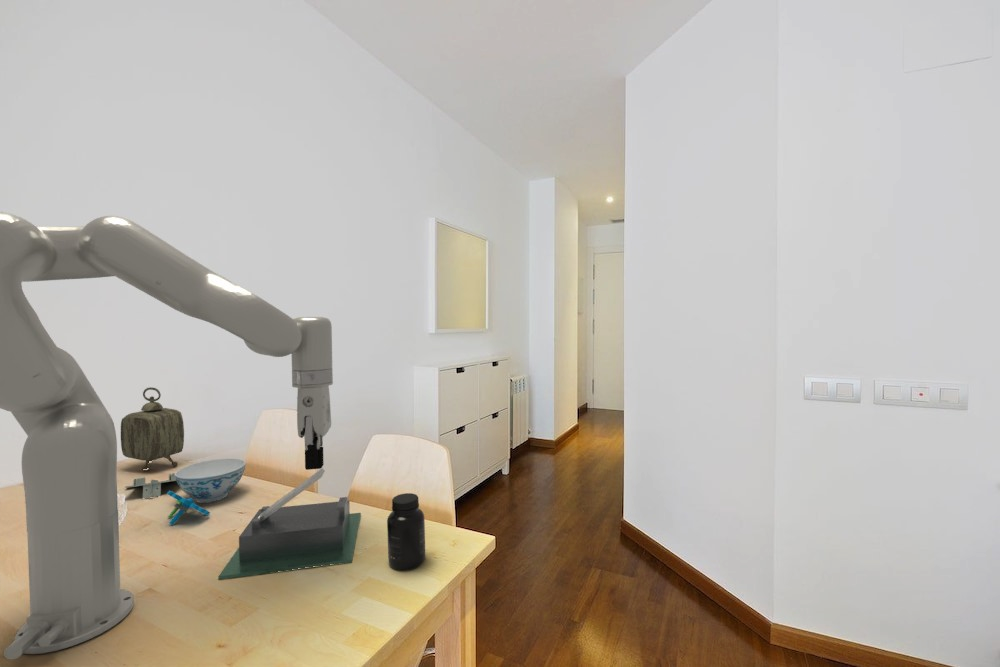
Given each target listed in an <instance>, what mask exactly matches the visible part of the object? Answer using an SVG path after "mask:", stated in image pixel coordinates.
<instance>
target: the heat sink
mask: <svg viewBox="0 0 1000 667" xmlns="http://www.w3.org/2000/svg"><path fill="white" fill-rule="evenodd" d="M269 507H270V505H266V506H262V508H260V509H258V510H257V512H256V513H255V515H254V516H253V517H252V519H251V520H250V521H249V523H248V524H247V525H246V527H245V528H244V529H243V531H242V532H241V534H240V535H239V536H238V548H237V550H236V551H235V552H234V554H233V555H232V557H231V558H230V559H229V560H228V562H227V563H226V565H225V567H223V569H222V570H221V571H220V573H219V575H218V576H217V577H218V578H217V579H218V580H219V579H221V580H228V579H235V578H243V576H244V577H250V576H251V575H252V576H258V574H259V575H264V574H263V573H267V574H272V573H271V572H275V573H279V572H278V571H283V572H287V571H286V570H290V571H293V570H292V569H298V568H305V567H313V566H321V565H329V566H331V565H330V564H337V565H340V564H339V563H344V564H350V563H349V562H353V556H354V553H355V552H354V551H355V547H356V543H357V542H356V541H357V537H358V532H359V526H360V521H361V516H362V515H361V514H362V513H361V512H354V513H351V512H350V508H351V507H350V500H348V496H343V497H339V500H338V501H331V502H321V503H320V502H319V503H311V504H300V505H291V506H289V505H288V506H282V507H281V508H279V509H278V510H277V511H275V512H274V513H273V514H271V515H270V516H269V517H267V518H266V519H264V520H263V521H262V522H261V518H258V517H259V515H260V514H261V513H262V512H263V511H265V510H266V509H267V508H269ZM257 518H258V519H257ZM321 567H322V566H321ZM298 570H299V569H298ZM256 574H257V575H256ZM227 578H228V579H227Z"/></svg>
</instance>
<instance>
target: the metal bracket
mask: <svg viewBox="0 0 1000 667" xmlns="http://www.w3.org/2000/svg"><path fill="white" fill-rule="evenodd" d="M175 473H176V472H174V473H169V474H168V480H162V481H161V480H160V481H159V480H156V479H150V482H147V483H146V477H139V478H133V481H132V482H133V485H127V486H126V485H125V487H124V489H127V488H135V487H142V499H143V498H146V499H147V498H149V499H151V498H150V497H157V496H162V495H161V493H162V483H169V482H177V481H176V478H175Z"/></svg>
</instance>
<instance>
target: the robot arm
mask: <svg viewBox="0 0 1000 667" xmlns="http://www.w3.org/2000/svg"><path fill="white" fill-rule="evenodd" d="M109 277H116V278H118V279H119V280H121V281H123V282H125V283H127V284H128V285H131V286H133V287H134V288H136V289H138V291H140V292H143V293H144V294H147V295H149V296H150V297H152V298H154V299H155V300H158V301H160V302H161V303H162V304H164V305H166V306H169V307H170V308H172V309H173V310H175V311H177V312H179V313H182V314H184V315H186V316H188V317H192V318H195V319H198V320H201V321H205V322H207V323H209V324H212V325H214V326H216V327H218V328H220V329H222V330H225V331H227V332H228V333H230V334H233V335H234V336H236V337H238V338H240V339H242V340H243V342H244V344H245V345H246V347H247V348H249V349H250V350H251V351H252V352H253V353H256V354H258V355H262V356H263V355H264V356H269V357H273V358H282V357H283V358H284V357H287V356H289V355H291V383H292V384H291V386H292V388H297V395H296V396H297V397H296V399H297V401H296V402H297V403H296V422H297V423H296V424H297V425H296V427H297V428H296V429H297V436H298V437H299V438H300V439H303V438H304V467H305V470H307V471H308V470H310V471H311V470H320V469H322V468H323V466H324V464H325V463H324V445H323V440H324V438H323V437H325V436H326V435H327V433H328V432H329V430H330V429H331V427H332V413H331V395H330V386H332V385H333V384H334V381H333V378H334V377H333V375H334V374H333V340H332V339H333V337H332V336H333V329H332V328H333V327H332V321H331V320H330V319H329V318H328V317H323V316H301V317H300V316H299V317H296V318H292V316H289V315H288V314H287V313H285V312H284V311H282V310H280V309H279V308H277V307H275V306H274V305H273V304H271V303H269V302H268V301H267V300H264V299H263V298H261V297H260V296H258V295H256V294H255V293H253V292H251V291H249V290H247V289H245V288H244V287H241V286H240V285H238V284H236V283H234V282H232V281H230V280H229V279H227V278H226V277H224V276H222V275H220V274H218V273H216V272H214V271H212V270H211V269H209V268H208V267H206V266H205V265H203V264H201V263H200V262H199V261H197V260H195V259H193V258H191V257H189V255H186V254H185V253H183V252H182V251H180V250H179V249H177V248H176V247H175V246H173V245H171V244H169V243H168V242H167V241H165V240H163V239H162V238H160V237H158V236H157V235H156V234H154V233H152V232H150V231H149V230H148V229H146V228H144V227H142V226H141V225H139V224H137V222H134V221H131V220H130V219H127V218H125V217H122V216H116V215H105V216H101V217H96V218H94V219H93V220H90V221H89V222H88V223H87V224H86V225H84V226H83V225H82V226H47V225H46V226H40V225H39V226H36V225H35V224H33V223H32V222H30V221H28V220H27V219H25V218H23V217H20V216H17V215H15V214H12V213H9V212H8V213H7V212H3V211H0V409H1V410H4V411H7V412H10V413H11V414H12V416H13V417H14V419H15V420H16V421H17V423H18V424H19V426H20V427H21V429H22V430H23V431H24V433H25V434H26V435H27V438H26V440H25V442H24V445H23V447H22V452H21V453H22V454H21V475H22V482H23V483H22V484H23V490H24V498H25V499H24V501H25V502H24V503H25V516H26V517H25V519H26V521H25V522H26V533H27V554H28V557H27V558H28V559H27V560H28V562H27V563H28V581H29V582H28V583H29V584H28V587H29V614H30V615H29V616H28V617H26V623H24V624H23V625H22V626H20V627H21V628H19V630H17V632H16V634H15V636H14V641H13V642H12V643H10V644H9V645H8V646H7V647H6V648H5V649H4V650H3V655H4V657H5V658H6V659H8V660H15V659H18V658H20V657H21V656H22V655H23V654H27V655H37V654H47V653H52V652H53V653H54V652H57V651H60V650H64V649H67V648H71V647H73V646H74V647H75V646H76V645H79V644H81V643H83V642H86V641H89V640H91V639H93V638H95V637H97V636H99V635H101V634H103V633H105V632H106V631H108V630H110V629H111V628H113V627H114V626H116V625H117V624H118V623H120V622H121V621H122V620H123V619H125V618H126V616H128V614H129V613H131V610H132V609H133V607H134V604H135V596H134V594H133V593H132V592H131V591H129V590H125V589H121V568H120V567H121V566H120V565H121V564H120V563H121V562H120V561H121V560H120V535H119V534H120V532H119V531H120V529H119V509H118V508H119V507H118V477H117V476H118V475H117V474H118V473H117V471H118V466H117V464H118V443H117V442H118V440H117V433H116V427H115V423H114V421H113V418H112V416H111V414H110V413H109V411H108V409H107V408H106V406H105V405H104V403H103V402H102V400H101V399H100V397H99V395H98V394H97V392H96V391H95V389H94V387H93V385H92V384H91V382H90V381H89V379H88V377H87V376H86V374H85V373H84V371H83V369H82V368H81V366H80V364H79V363H78V362H77V361H76V359H75V358H74V357H73V356H72V355H71V354H70V353H69V352H68V351H66V350H64V349H62V348H60V347H58V346H57V344H56V343H55V342H54V341H53V339H52V337H51V336H50V333H48V331H47V330H46V328H45V327H44V325H43V324H42V322H41V319H40V318H39V316H38V314H37V312H36V311H35V309H34V308H33V307H32V304H31V303H30V302H29V300H28V299H27V297H26V295H25V292H24V291H23V285H22V283H23V282H27V283H29V282H43V281H44V282H45V281H47V282H48V281H62V280H63V281H64V280H82V279H84V280H85V279H98V278H99V279H100V278H109Z"/></svg>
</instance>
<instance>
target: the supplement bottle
mask: <svg viewBox="0 0 1000 667" xmlns="http://www.w3.org/2000/svg"><path fill="white" fill-rule="evenodd" d="M419 507H420V503H419V495H418V494H415V493H401V494H397V495H396V496H394V497H393V498H392V500H391V512H390V513H389V515H388V516H387V518H386V519H387V520H386V521H387V522H386V530H387V532H386V533H387V534H386V535H387V559H388V564H389V566H390V567H391V568H392V569H393V570H395V571H400V572H401V571H405V572H406V571H410V570H414V569H416V568H418V567H419V566H421V565H422V564H423V563H424V562H425V559H426V532H425V531H426V529H425V528H426V527H425V526H426V524H425V513H424V511H423V510H422V509H421V508H419Z"/></svg>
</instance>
